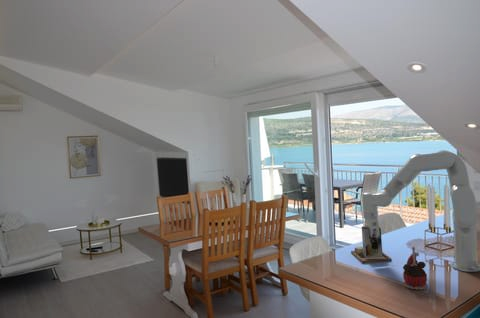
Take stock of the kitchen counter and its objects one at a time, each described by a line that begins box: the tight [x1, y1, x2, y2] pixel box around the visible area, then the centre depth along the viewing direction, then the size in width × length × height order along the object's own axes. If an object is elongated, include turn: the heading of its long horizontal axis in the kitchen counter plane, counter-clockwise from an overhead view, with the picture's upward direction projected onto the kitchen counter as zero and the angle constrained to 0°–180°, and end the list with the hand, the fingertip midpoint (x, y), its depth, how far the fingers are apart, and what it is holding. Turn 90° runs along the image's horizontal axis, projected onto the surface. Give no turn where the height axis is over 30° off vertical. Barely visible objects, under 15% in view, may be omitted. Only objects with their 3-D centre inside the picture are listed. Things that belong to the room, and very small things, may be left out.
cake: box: [402, 246, 428, 291], centre depth 164 cm, size 11×9×18 cm
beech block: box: [354, 245, 364, 256], centre depth 210 cm, size 4×4×4 cm
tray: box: [350, 250, 393, 264], centre depth 204 cm, size 18×16×2 cm
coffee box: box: [361, 225, 384, 258], centre depth 200 cm, size 9×6×16 cm
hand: (372, 246), depth 201 cm, fingers closed on coffee box, 6 cm apart
